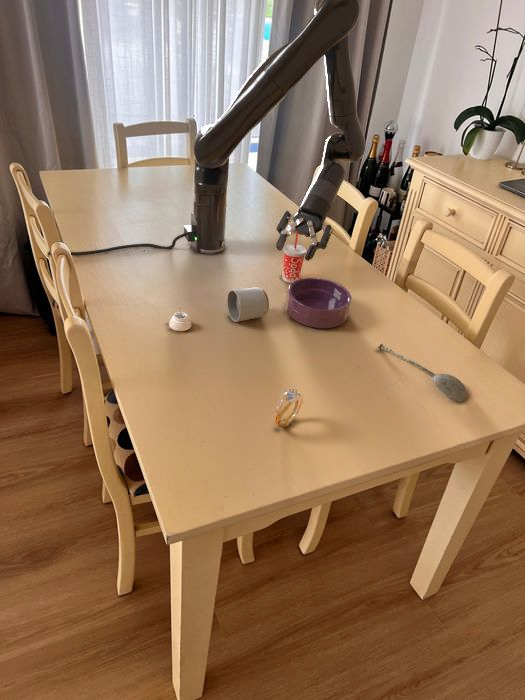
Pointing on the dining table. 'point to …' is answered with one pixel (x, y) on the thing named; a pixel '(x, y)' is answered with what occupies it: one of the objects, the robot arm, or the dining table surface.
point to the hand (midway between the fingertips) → (292, 254)
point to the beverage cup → (293, 261)
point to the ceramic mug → (247, 303)
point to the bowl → (318, 302)
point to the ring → (289, 396)
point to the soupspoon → (439, 380)
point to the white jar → (180, 322)
